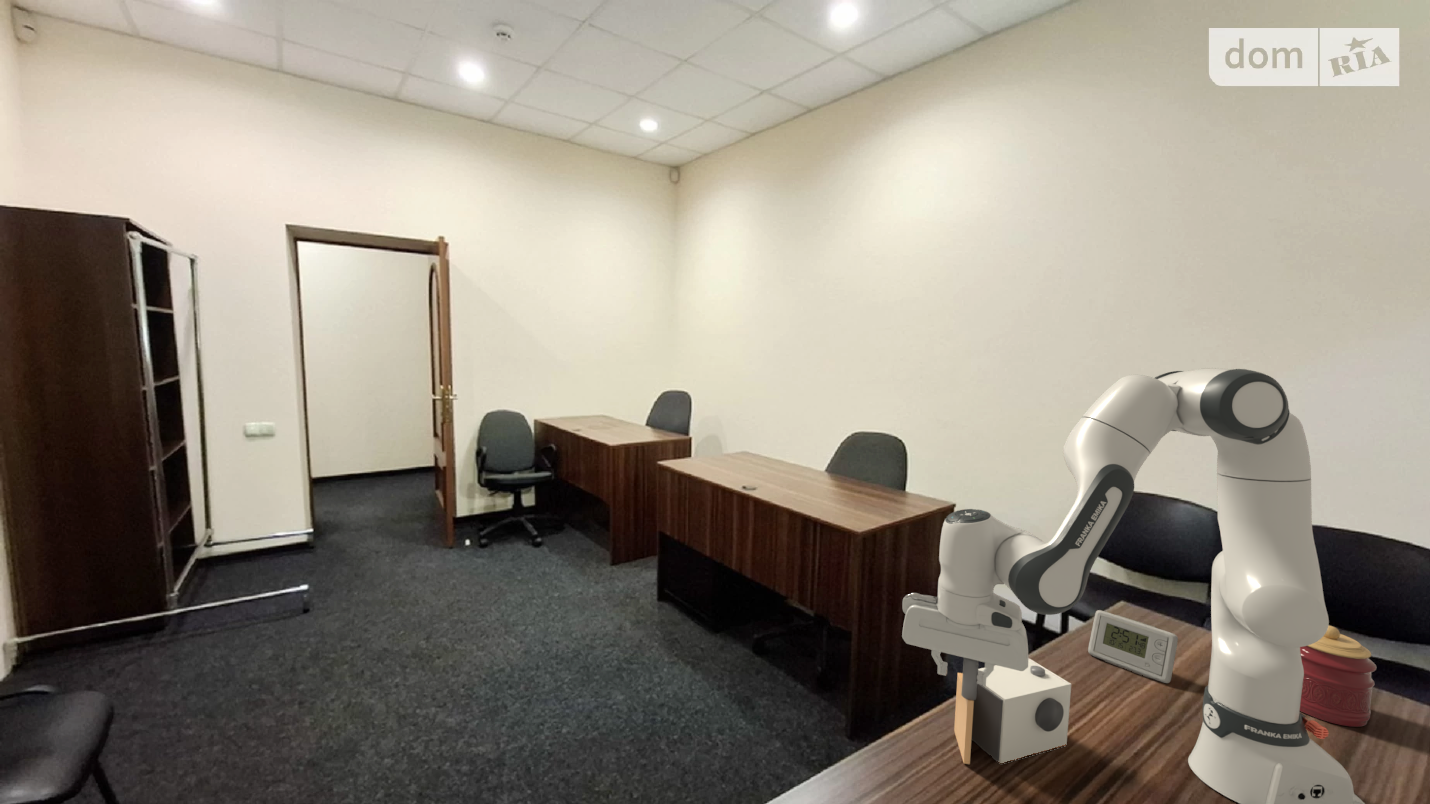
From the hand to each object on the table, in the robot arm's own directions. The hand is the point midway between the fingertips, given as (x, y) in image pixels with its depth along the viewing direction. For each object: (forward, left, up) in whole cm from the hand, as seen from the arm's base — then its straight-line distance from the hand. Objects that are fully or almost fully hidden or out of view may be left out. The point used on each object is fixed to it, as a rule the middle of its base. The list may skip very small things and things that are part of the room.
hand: (961, 678), depth 99 cm
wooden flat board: (-1, -2, -14) cm, 15 cm away
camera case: (-12, -6, -15) cm, 20 cm away
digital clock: (-49, -38, -15) cm, 63 cm away
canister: (-80, -27, -15) cm, 86 cm away
